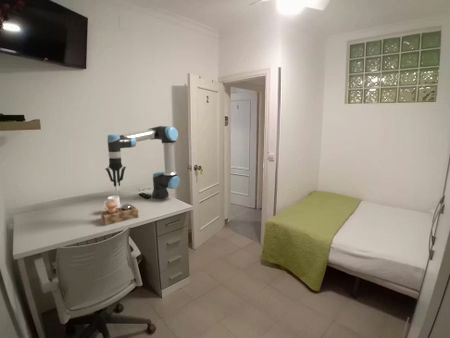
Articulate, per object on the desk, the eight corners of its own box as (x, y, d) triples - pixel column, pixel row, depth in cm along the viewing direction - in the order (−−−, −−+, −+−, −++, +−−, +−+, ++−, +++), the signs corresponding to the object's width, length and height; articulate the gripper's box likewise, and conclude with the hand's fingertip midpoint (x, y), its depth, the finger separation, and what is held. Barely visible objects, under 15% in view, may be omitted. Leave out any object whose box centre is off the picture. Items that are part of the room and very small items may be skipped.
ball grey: (130, 213, 174) (129, 203, 173) (133, 216, 170) (132, 206, 168) (121, 215, 170) (120, 205, 169) (124, 218, 166) (123, 208, 164)
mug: (104, 216, 170) (103, 200, 168) (103, 212, 177) (101, 197, 175) (121, 212, 177) (120, 197, 174) (119, 209, 184) (118, 194, 181)
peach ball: (115, 211, 167) (114, 201, 166) (118, 214, 163) (117, 203, 161) (106, 213, 163) (105, 203, 162) (108, 216, 159) (107, 205, 157)
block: (133, 212, 178) (132, 204, 177) (138, 217, 169) (137, 209, 168) (101, 219, 165) (100, 211, 164) (105, 225, 156) (104, 217, 154)
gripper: (123, 156, 164) (125, 187, 169) (103, 157, 156) (105, 190, 161) (126, 157, 159) (128, 190, 163) (105, 159, 150) (108, 193, 155)
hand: (117, 190), depth 162 cm, fingers closed
